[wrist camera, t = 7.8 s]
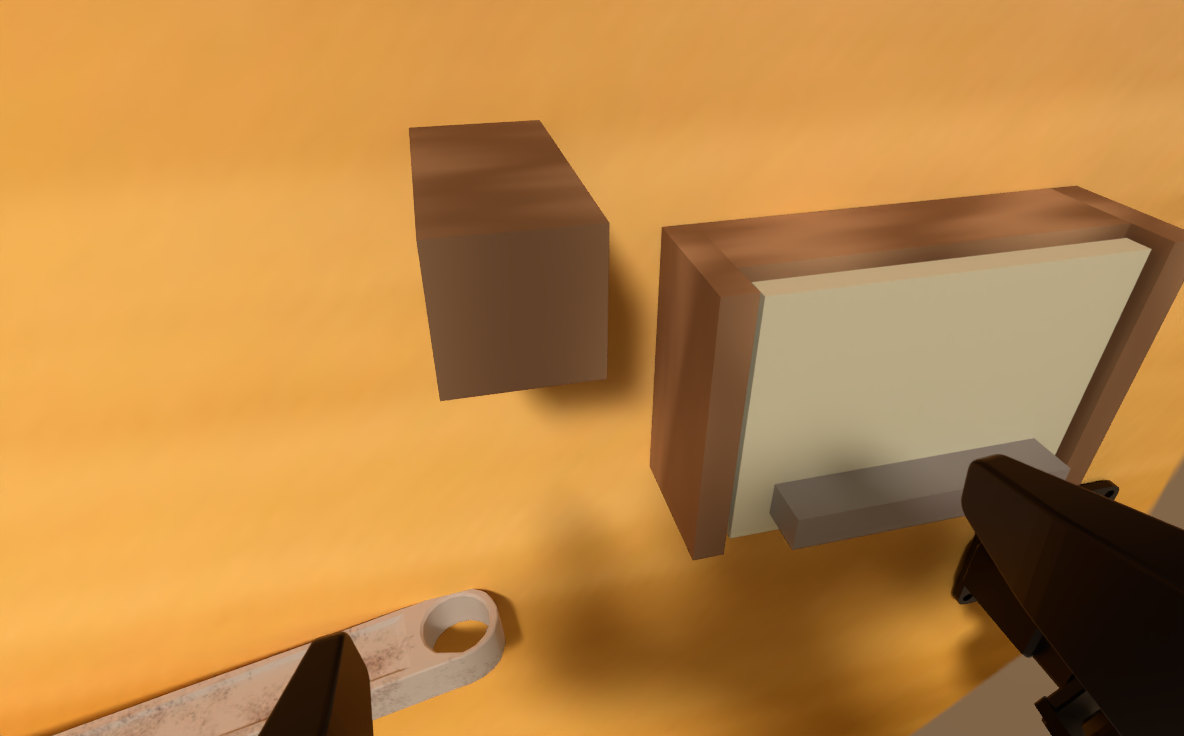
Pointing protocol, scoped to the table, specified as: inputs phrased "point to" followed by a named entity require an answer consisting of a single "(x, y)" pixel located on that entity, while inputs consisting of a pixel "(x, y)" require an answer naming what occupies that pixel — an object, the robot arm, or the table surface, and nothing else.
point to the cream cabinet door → (916, 383)
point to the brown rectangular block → (508, 260)
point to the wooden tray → (851, 242)
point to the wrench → (248, 694)
